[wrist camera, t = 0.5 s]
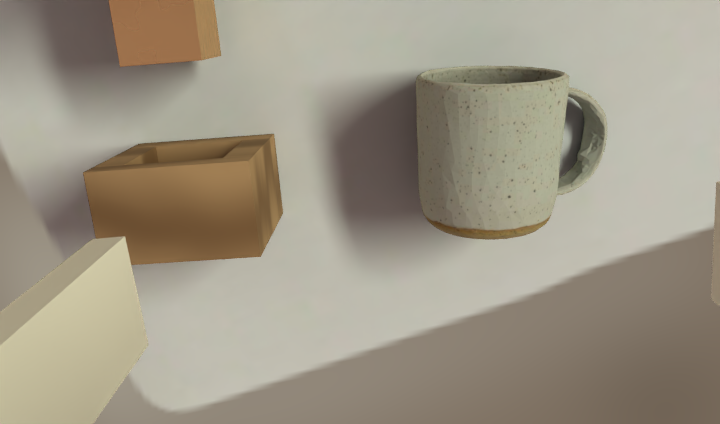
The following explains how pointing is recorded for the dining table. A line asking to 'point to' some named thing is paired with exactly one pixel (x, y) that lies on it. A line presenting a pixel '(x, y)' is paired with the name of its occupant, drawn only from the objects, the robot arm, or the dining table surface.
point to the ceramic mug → (498, 147)
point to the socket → (188, 198)
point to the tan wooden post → (164, 31)
